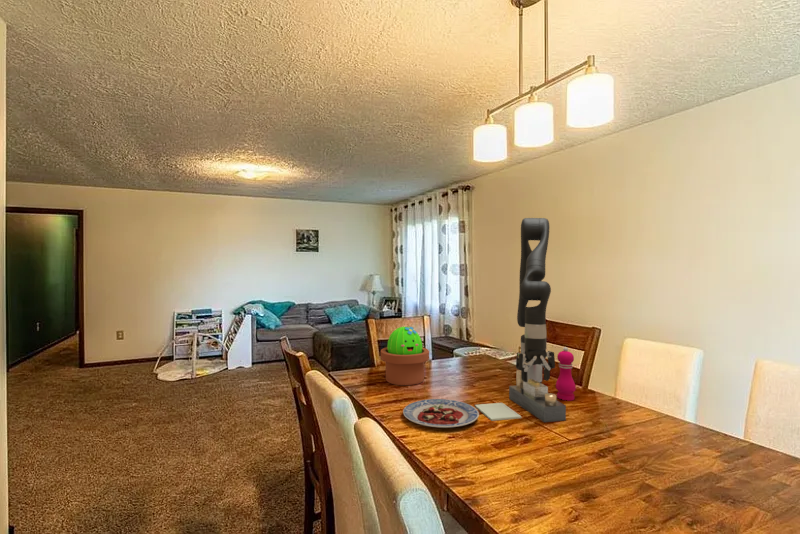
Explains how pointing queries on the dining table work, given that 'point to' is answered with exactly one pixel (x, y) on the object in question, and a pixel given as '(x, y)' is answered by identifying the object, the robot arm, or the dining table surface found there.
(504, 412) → the rubber mat
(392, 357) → the potted cactus
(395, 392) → the dining table surface
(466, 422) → the ceramic plate
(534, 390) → the white rectangular block
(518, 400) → the hand plane
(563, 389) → the pepper mill
